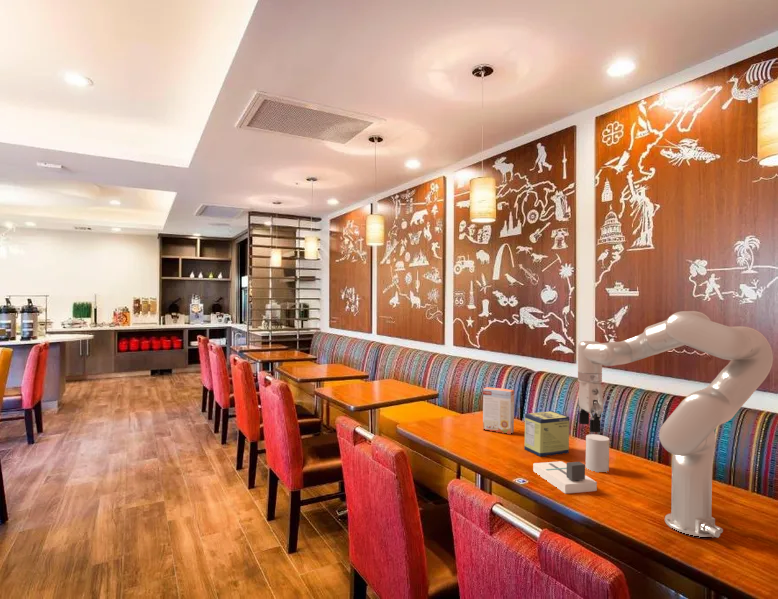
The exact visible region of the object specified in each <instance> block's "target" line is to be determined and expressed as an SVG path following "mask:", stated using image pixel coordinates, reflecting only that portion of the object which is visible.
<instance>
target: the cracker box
mask: <svg viewBox="0 0 778 599" xmlns="http://www.w3.org/2000/svg"><path fill="white" fill-rule="evenodd" d="M482 393H483V395H482V397H483V399H482V430H483V429H485V430H490V431H489V432H492V431H496V432H495V433H498V432H502V433H501V434H504V433H507V434H506V435H512V434H513V433H515V432H514V431H515V389H508V388H500V387H499V388H498V387H491V386H490V387H489V386H487V387H484V388H483V391H482ZM485 430H484V431H485ZM511 433H512V434H511Z"/></svg>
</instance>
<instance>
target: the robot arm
mask: <svg viewBox="0 0 778 599" xmlns="http://www.w3.org/2000/svg"><path fill="white" fill-rule="evenodd" d="M683 346H687V347H690V348H692V349H695V350H697V351H700V352H703V353H706V354H708V355H711V356H713V357H715V358H719V359H721V360H727V361H729V362H728V364H727V365H726V366H724V367H723V368H722V369H721V371H720V372H719V373H718V374H717V375H716V377H715V378H714V379H713V380H712V381H711V382H710V384H709V385H707V387H705V388H703V389H700V390H696V391H693V392H692V393H690V394H688V395H687V396H686V397H684V399H683V400H681V402H680V403H679V404H678V406H676V407H675V409H674V410H673V411H672V413H671V414H670V415H669V416H668V418H666V420H665V421H664V422H663V424H662V425H661V427H660V428H659V432H658V433H659V434H658V437H659V441H660V444H661V446H662V447H663V448H664V449H665V451H667V452H668V453H670V454H671V455H672V459H671V510H670V511H671V512H670V513H667V514H666V515H665V516H664V522H665V524H666V525H667V526H668V527H669V528H670V529H672V528H673V529H672V530H674V529H675V530H674V531H676V530H677V531H676V532H678V531H679V533H680V532H682V533H681V534H683V533H685V534H684V535H686V534H689V535H688V536H690V535H693V536H692V537H694V536H699V537H698V538H700V537H712V538H719V537H721V534H722V533H723V532H724V528H722V527H720V526H718V525H716V518H714V517H713V516H712V506H713V505H712V502H713V500H712V497H713V495H712V494H713V493H712V492H713V490H712V489H713V484H712V483H713V462H714V454H715V453H714V452H715V447H716V446H715V445H716V433H715V430H716V428H718V426H720V425H722V424H725V423H727V422H729V421H730V420H732V419H733V418H734V417H735V415H736V414H737V413H738V412H739V410H740V409H741V408H742V407H743V406H744V405H745V403H746V402H748V401H749V399H750V398H751V396H752V395H753V394H754V393H755V392H756V390H758V388H759V387H760V386H761V385H762V384H763V383H764V381H765V380H766V379H767V377H768V376H769V374H770V371H771V369H772V367H773V362H774V354H773V349H772V346H771V344H770V343H769V341H768V339H767V338H766V337H765V336H764V334H763V333H761V332H760V331H758V330H757V329H755V328H752V327H749V326H743V325H741V326H740V325H739V326H728V325H725V324H722V323H719V322H715V321H713V320H711V318H710V317H709V316H707V314H705V313H704V312H701V311H697V310H687V311H686V310H682V311H681V310H680V311H677V312H675V313H673V314H672V313H671V315H670V316H669V317H668V318H667V319H665V320H663V321H660V322H657V323H654V324H652V325H648V326H646V327H645V328H644V330H643V332H642V333H640V334H638V335H635V336H633V337H630V338H627V339H624V340H621V341H612V342H599V341H596V340H583V341H580V342H579V343H578V346H577V381H578V382H579V384H578V407H579V408H578V422H579V423H578V424H580V425H589V431H590V433H601V421H602V414H603V412H604V398H603V396H604V394H603V389H602V383H603V366H605V367H606V366H607V367H613V366H620V365H626V364H629V363H633V362H636V361H639V360H642V359H645V358H649V357H651V356H655V355H659V354H661V353H664V352H668V351H670V350H674V349H676V348H680V347H683Z"/></svg>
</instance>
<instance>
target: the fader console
mask: <svg viewBox="0 0 778 599" xmlns="http://www.w3.org/2000/svg"><path fill="white" fill-rule="evenodd" d="M532 466H533V467H532V470H533V471H532V472H534V473H535V474H536V473H537V475H538V476H539V475H540V476H539V477H541V478H542V479H544V480H545V481H546V480H547V482H548V483H549V484H551V485H552V486H554V487H557V488H556V489H558V490H560V491H561V492H562V493H564V494H575V493H586V492H597V489H598V488H597V487H598V486H597V485H598V482H597V481H595V480H594V479H592V478H591V477H589V476H588V475H586V474H585V480H573V481H572V480H570V479H569V478H567V463H566V462H564V461H562V460H561V461H560V460H559V461H549V462H548V461H547V462H546V461H545V462H534V463H533V465H532Z"/></svg>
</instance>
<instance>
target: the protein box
mask: <svg viewBox="0 0 778 599" xmlns="http://www.w3.org/2000/svg"><path fill="white" fill-rule="evenodd" d="M523 446H524V447H523V448H524V450H526V451H527V452H530V453H531V454H533V453H534V455H535V454H536V456H538V457H539V458H541V456H542V457H548V456H547V455H550V456H556V454H558V455H563V453H565V454H569V452H570V451H569V449H570V416H568V415H566V414H565V415H564V414H562V413H560V412H556V411H553V410H551V411H541V412H540V411H539V412H531V413H525V414H524V445H523Z"/></svg>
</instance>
